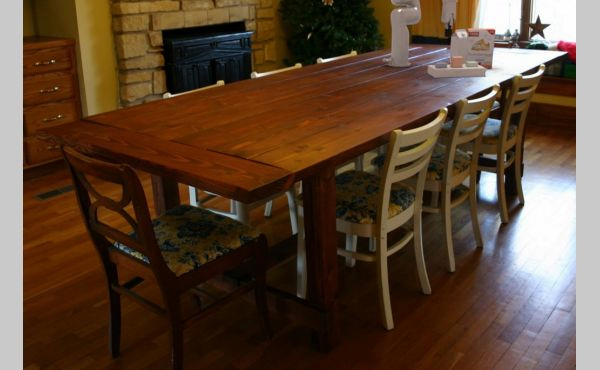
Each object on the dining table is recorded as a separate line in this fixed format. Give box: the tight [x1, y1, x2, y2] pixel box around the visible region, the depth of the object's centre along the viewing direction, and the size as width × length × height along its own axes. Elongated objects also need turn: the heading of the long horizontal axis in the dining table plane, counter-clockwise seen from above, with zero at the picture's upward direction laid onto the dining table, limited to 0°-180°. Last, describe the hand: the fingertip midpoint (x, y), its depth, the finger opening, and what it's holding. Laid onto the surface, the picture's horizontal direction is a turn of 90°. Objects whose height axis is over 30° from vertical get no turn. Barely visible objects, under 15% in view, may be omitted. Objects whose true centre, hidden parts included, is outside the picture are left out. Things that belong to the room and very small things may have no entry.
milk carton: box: [449, 28, 468, 64], centre depth 350 cm, size 7×7×19 cm
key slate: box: [434, 61, 448, 68], centre depth 319 cm, size 5×5×5 cm
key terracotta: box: [449, 56, 463, 68], centre depth 319 cm, size 5×5×5 cm
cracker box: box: [465, 27, 496, 70], centre depth 335 cm, size 14×6×21 cm, turn 82°
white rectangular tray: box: [427, 64, 487, 79], centre depth 320 cm, size 26×14×4 cm, turn 94°
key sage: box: [466, 61, 478, 67], centre depth 320 cm, size 5×5×5 cm
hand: (448, 36), depth 314 cm, fingers closed
